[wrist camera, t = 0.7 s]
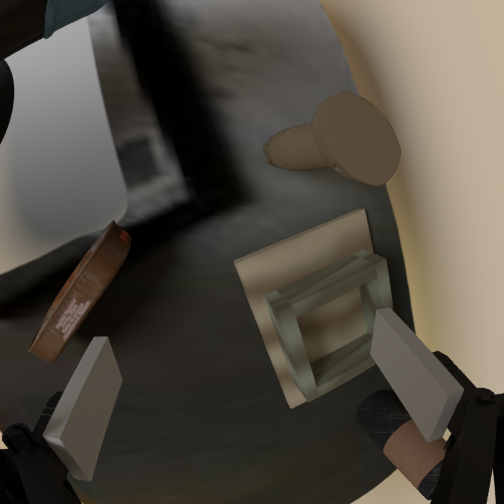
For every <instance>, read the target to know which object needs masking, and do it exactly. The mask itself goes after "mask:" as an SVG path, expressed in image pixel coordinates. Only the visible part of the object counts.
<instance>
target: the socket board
mask: <svg viewBox="0 0 504 504" xmlns="http://www.w3.org/2000/svg"><path fill="white" fill-rule="evenodd" d="M234 264H235V267H236V269H237V272H238V275H239V277H240V280H241V283H242V285H243V288H244V291H245V293H246V296H247V299H248V301H249V304H250V307H251V309H252V312H253V315H254V317H255V320H256V323H257V325H258V328H259V330H260V333H261V336H262V338H263V341H264V343H265V346H266V349H267V351H268V354H269V356H270V359H271V362H272V364H273V367H274V369H275V372H276V374H277V377H278V380H279V382H280V385H281V387H282V390H283V392H284V395H285V397H286V400H287V402H288V405H289V406H290V408H291V409H292V408H294V407H296V406H298V405H300V404H302V403H304V402H306V401H307V402H310V401H312V400H314V399H316V398H318V397H320V396H322V395H323V394H325V393H327V392H329V391H331V390H333V389H334V388H336V387H338V386H340V385H342V384H343V383H345V382H347V381H349V380H350V379H352V378H354V377H355V376H357V375H359V374H361V373H362V372H364V371H366V370H367V369H369V368H370V367H372V366H374V365H375V364H376V362H375V361H374V359H373V358H372V356H371V355H370V351H371V345H372V338H373V331H374V323H375V315H376V310H377V309H382V308H388V307H390V308H391V309H392V311H393V304H392V296H391V288H390V281H389V274H388V268H387V261H386V258H383V257H381V256H378V255H376V254H374V253H373V247H372V242H371V237H370V232H369V227H368V223H367V218H366V213H365V209H362V208H359V209H356V210H354V211H351V212H349V213H347V214H344V215H342V216H339V217H337V218H335V219H332V220H330V221H327V222H325V223H323V224H320V225H318V226H315V227H313V228H311V229H308V230H306V231H303V232H301V233H299V234H296V235H294V236H291V237H289V238H287V239H284V240H282V241H279V242H277V243H275V244H272V245H270V246H267V247H265V248H263V249H260V250H258V251H256V252H253V253H251V254H248V255H246V256H244V257H241V258H239V259H236V260H234Z"/></svg>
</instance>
